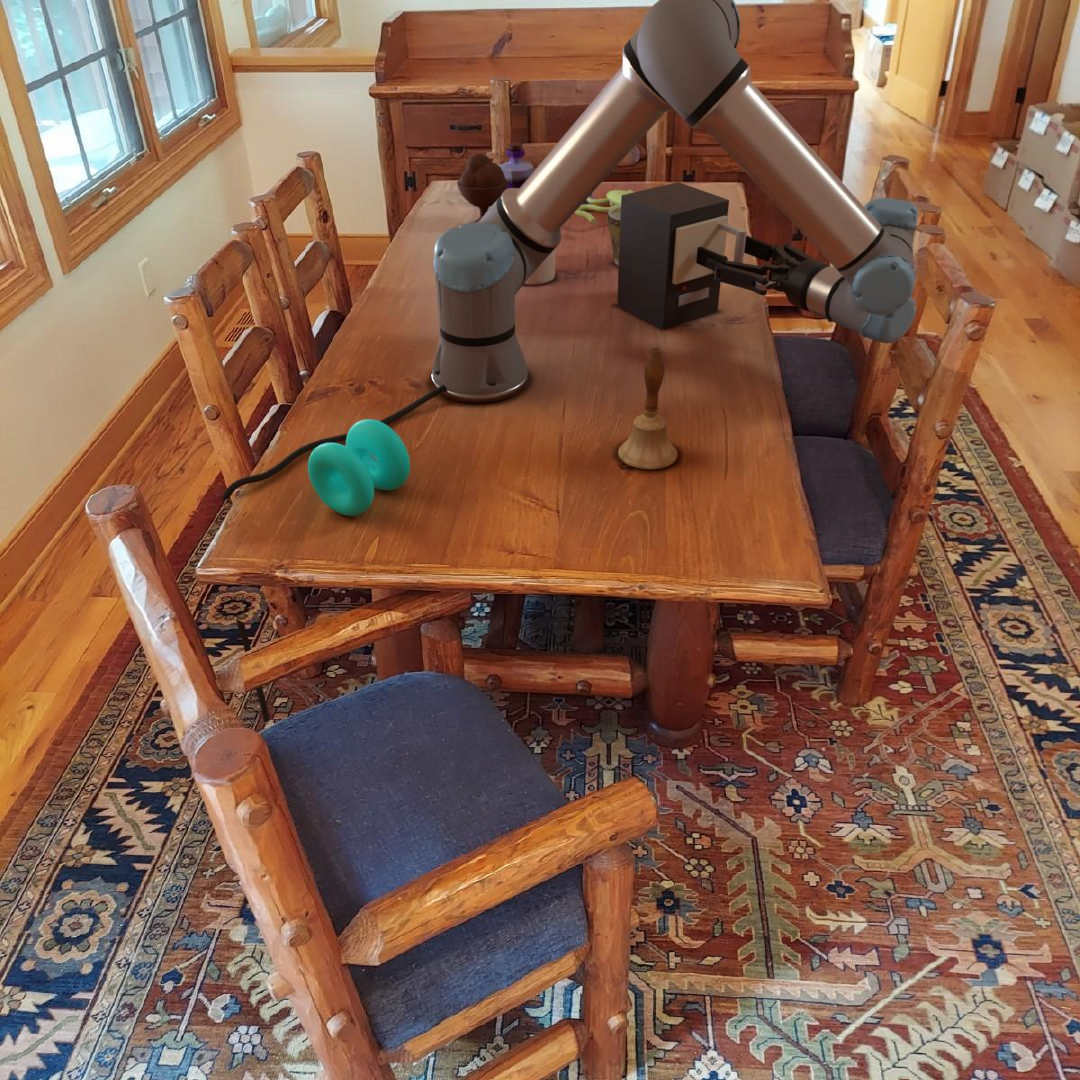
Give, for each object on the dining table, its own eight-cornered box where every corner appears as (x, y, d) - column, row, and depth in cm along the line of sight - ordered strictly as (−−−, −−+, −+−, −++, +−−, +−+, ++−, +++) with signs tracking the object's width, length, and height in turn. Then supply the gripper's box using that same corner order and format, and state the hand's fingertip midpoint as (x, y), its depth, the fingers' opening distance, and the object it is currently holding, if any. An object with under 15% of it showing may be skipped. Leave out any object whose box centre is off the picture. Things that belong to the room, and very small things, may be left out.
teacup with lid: (559, 270, 191) (559, 211, 184) (552, 287, 184) (551, 226, 177) (500, 267, 193) (498, 208, 186) (491, 283, 186) (488, 223, 179)
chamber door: (746, 280, 164) (753, 225, 158) (698, 295, 159) (703, 239, 153) (719, 269, 168) (724, 215, 163) (671, 283, 163) (675, 228, 158)
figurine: (573, 239, 205) (573, 213, 202) (576, 200, 227) (577, 176, 224) (659, 240, 204) (661, 213, 201) (655, 201, 226) (656, 176, 223)
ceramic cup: (649, 274, 189) (652, 223, 183) (600, 268, 192) (601, 218, 186) (664, 251, 199) (667, 203, 193) (617, 246, 201) (619, 198, 195)
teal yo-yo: (309, 505, 125) (297, 439, 119) (361, 471, 132) (352, 406, 126) (367, 530, 120) (357, 462, 114) (417, 493, 127) (411, 427, 121)
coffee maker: (719, 312, 173) (731, 200, 162) (664, 330, 168) (673, 215, 156) (670, 289, 182) (678, 181, 171) (616, 305, 177) (621, 195, 165)
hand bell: (640, 433, 139) (646, 330, 130) (688, 452, 135) (698, 347, 125) (606, 457, 134) (610, 351, 124) (655, 477, 130) (663, 369, 120)
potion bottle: (541, 197, 229) (540, 144, 222) (510, 203, 226) (508, 150, 219) (522, 188, 235) (521, 136, 228) (492, 194, 232) (490, 142, 224)
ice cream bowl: (453, 231, 210) (448, 160, 202) (470, 215, 219) (467, 146, 210) (498, 235, 208) (496, 163, 199) (514, 219, 216) (512, 149, 208)
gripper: (766, 329, 146) (669, 284, 161) (863, 296, 156) (764, 256, 171) (773, 282, 142) (673, 240, 156) (872, 250, 152) (769, 214, 166)
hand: (720, 248), depth 164 cm, fingers open, 9 cm apart
